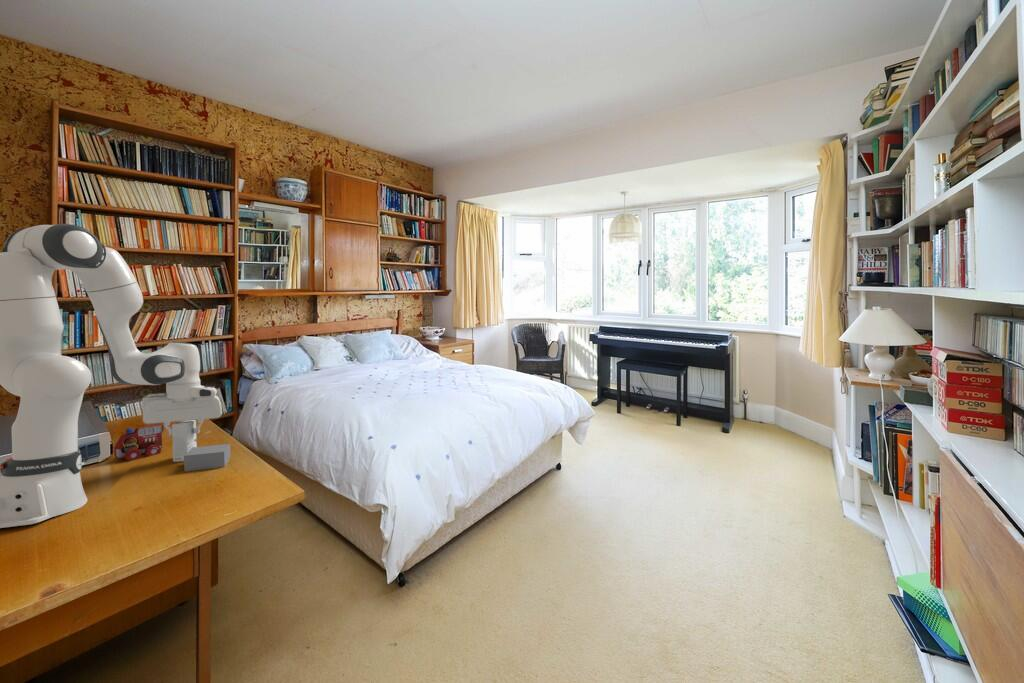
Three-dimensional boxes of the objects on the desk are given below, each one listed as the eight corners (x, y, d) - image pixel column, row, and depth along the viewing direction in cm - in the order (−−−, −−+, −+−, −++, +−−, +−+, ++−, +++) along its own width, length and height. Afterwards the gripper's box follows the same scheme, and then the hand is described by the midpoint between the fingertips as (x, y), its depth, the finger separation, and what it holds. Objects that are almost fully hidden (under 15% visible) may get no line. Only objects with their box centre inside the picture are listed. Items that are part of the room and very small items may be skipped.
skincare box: (188, 461, 135) (187, 423, 135) (171, 462, 134) (171, 424, 134) (197, 455, 141) (197, 419, 141) (182, 456, 140) (181, 420, 140)
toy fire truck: (111, 460, 136) (110, 428, 136) (159, 451, 146) (159, 421, 146) (117, 464, 132) (117, 431, 132) (166, 455, 142) (166, 424, 142)
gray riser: (184, 472, 125) (183, 455, 125) (193, 463, 134) (192, 447, 134) (224, 467, 129) (224, 451, 129) (230, 458, 138) (230, 443, 138)
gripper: (139, 395, 129) (140, 440, 129) (220, 390, 139) (221, 432, 140) (144, 393, 134) (144, 436, 134) (221, 388, 145) (222, 428, 145)
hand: (184, 434), depth 137 cm, fingers closed on skincare box, 5 cm apart
